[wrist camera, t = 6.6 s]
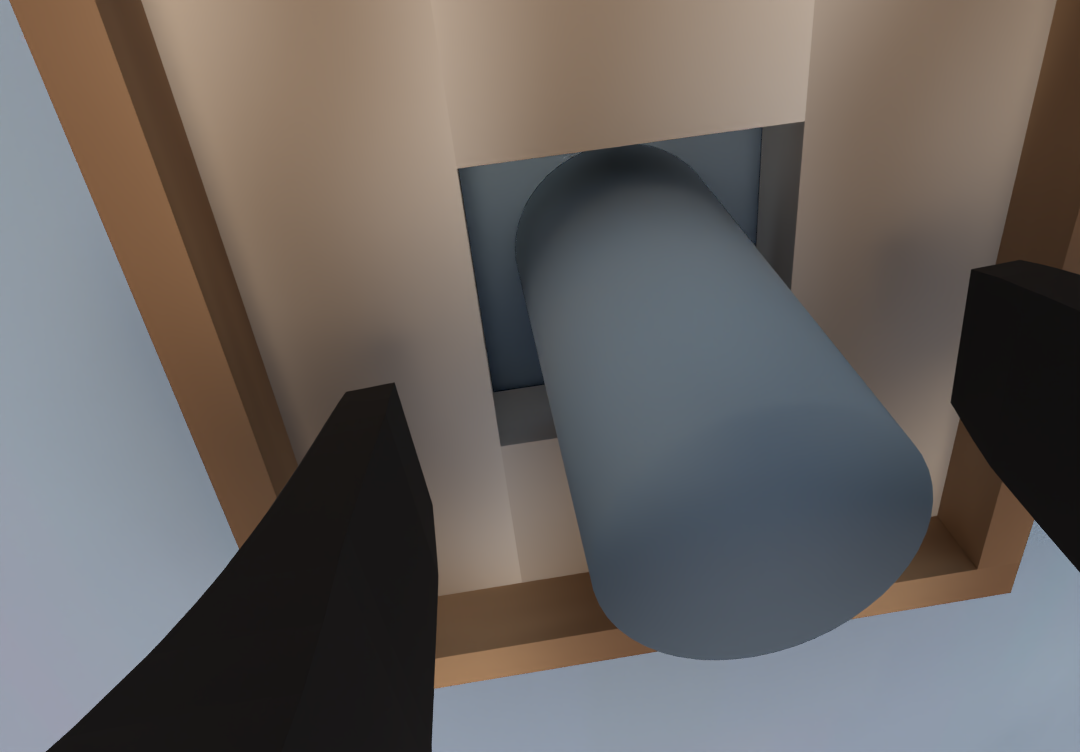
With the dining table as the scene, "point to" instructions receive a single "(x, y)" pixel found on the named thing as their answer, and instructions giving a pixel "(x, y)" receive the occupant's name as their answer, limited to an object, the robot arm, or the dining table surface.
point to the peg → (706, 419)
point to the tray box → (531, 132)
